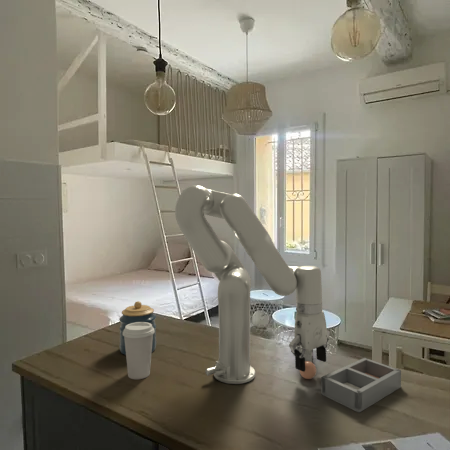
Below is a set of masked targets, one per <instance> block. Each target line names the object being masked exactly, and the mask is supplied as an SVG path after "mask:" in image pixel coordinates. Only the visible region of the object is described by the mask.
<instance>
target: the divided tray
mask: <svg viewBox="0 0 450 450" xmlns="http://www.w3.org/2000/svg"><path fill="white" fill-rule="evenodd" d="M320 380H321V387H320V388H321V389H320V390H321V391H320V392H321V395H322V396H324V397H326V398H327V399H330V400H333V401H334V402H336V403H338V404H340V405H342V406H344V407H346V408H348V409H350V410H353V411H355V413H362V412H363V411H364V410H366V409H368V408H369V407H371V406H373V405H374V404H376V403H378V402H380V401H381V400H382V399H384V398H386V397H387V396H389V395H391V394H392V393H394V392H395V391H398V390H399V389H400V388H402V370H401V369H398V368H395V367H392V366H390V365H387V364H385V363H381V362H378V361H375V360H374V359H373V360H372V359H370V358H366V357H363V358H361V359H359V360H356V361H354V362H352V363H349V364H348V365H345V366H343V367H340V368H338V369H336V370H334V371H331V372H330V373H328V374H325V375H321V379H320Z"/></svg>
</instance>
